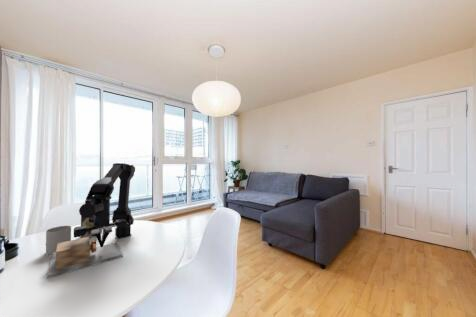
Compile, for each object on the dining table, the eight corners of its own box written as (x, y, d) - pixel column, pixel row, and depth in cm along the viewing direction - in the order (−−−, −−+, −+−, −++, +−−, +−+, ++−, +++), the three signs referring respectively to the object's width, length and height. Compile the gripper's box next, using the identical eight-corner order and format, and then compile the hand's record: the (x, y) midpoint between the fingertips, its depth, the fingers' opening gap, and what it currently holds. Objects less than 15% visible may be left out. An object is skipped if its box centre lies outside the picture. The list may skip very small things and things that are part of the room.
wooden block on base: (116, 244, 94) (116, 229, 94) (122, 256, 82) (122, 239, 82) (50, 260, 78) (51, 242, 79) (47, 278, 66) (47, 256, 67)
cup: (55, 255, 82) (55, 232, 82) (40, 254, 84) (41, 231, 84) (75, 247, 91) (75, 226, 91) (61, 245, 92) (62, 225, 92)
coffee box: (80, 238, 101) (80, 208, 101) (82, 234, 106) (83, 205, 106) (101, 235, 105) (101, 206, 105) (102, 231, 111) (103, 204, 111)
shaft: (95, 249, 84) (95, 238, 84) (96, 253, 80) (96, 242, 80) (52, 260, 75) (52, 247, 75) (51, 265, 71) (51, 252, 71)
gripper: (122, 204, 96) (122, 235, 95) (73, 211, 83) (73, 246, 83) (127, 209, 87) (127, 242, 87) (74, 216, 75) (73, 256, 75)
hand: (101, 246), depth 83 cm, fingers closed
